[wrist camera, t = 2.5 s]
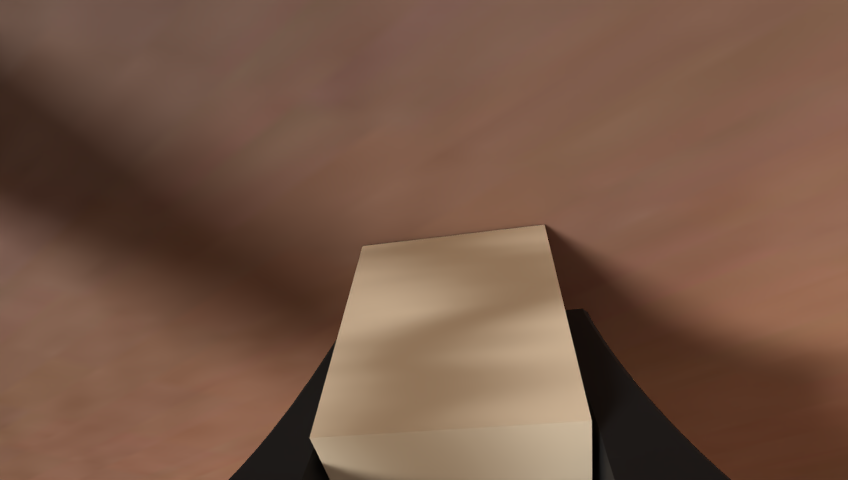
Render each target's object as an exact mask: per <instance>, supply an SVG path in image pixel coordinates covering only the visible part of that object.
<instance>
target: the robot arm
mask: <svg viewBox="0 0 848 480" xmlns="http://www.w3.org/2000/svg"><path fill="white" fill-rule="evenodd" d="M565 312H566V316H567V320H568V324H569V328H570V332H571V337H572V341H573V345H574V349H575V353H576V357H577V361H578V366H579V370H580V374H581V378H582V382H583V386H584V390H585V395H586V399H587V403H588V407H589V411H590V415H591V419H592V480H731V479H730V478H728V477H727V476H726V475H725V474H724V473H723V472H721V471H720V470H719V469H718V468H717V467H716V466H715V465H714V464H713V463H712V462H711V461H709V460H708V459H707V458H706V457H705V456H704V455H703V454H702V453H701V452H700V451H699V450H698V449H697V448H696V447H695V446H694V445H693V444H692V443H691V442H690V441H689V440H688V439H687V438H686V437H685V436H684V435H683V434H682V433H681V432H680V431H679V430H678V429H677V428H676V427H675V426H674V425H673V424H672V423H671V422H670V421H669V420H668V419H667V418H666V417H665V416H664V415H663V413H662V412H661V411H660V410H659V409H658V408H657V407H656V406H655V404H654V403H653V402H652V401H651V400H650V399H649V398H648V396H647V395H646V394H645V393H644V392H643V391H642V389H641V388H640V387H639V386H638V385H637V383H636V382H635V381H634V380H633V378H632V377H631V376H630V374H629V373H628V372H627V371H626V369H625V368H624V367H623V365H622V364H621V363H620V362H619V360H618V359H617V358H616V356H615V355H614V353H613V352H612V351H611V349H610V348H609V346H608V345H607V343H606V342H605V341H604V339H603V338H602V336H601V335H600V333H599V331H598V330H597V328H596V327H595V325H594V323H593V322H592V320H591V318H590V316H589V314H588V312H586V311H585V310H584V309H574V310H565ZM335 344H336V341H335V343H334V344H333V346H332V347H331V349H330V350H329V352H328V353H327V355H326V356H325V358H324V359H323V361H322V362H321V364H320V365H319V367H318V368H317V370H316V371H315V373H314V374H313V376H312V377H311V379H310V380H309V382H308V383H307V384H306V386H305V387H304V389H303V390H302V392H301V393H300V394H299V396H298V397H297V399H296V400H295V401H294V403H293V404H292V405H291V407H290V408H289V409H288V411H287V412H286V413H285V415H284V416H283V417H282V418H281V420H280V421H279V422H278V424H277V425H276V426H275V427H274V429H273V430H272V431H271V433H270V434H269V435H268V436H267V437H266V439H265V440H264V441H263V442H262V443H261V445H260V446H259V447H258V448H257V449H256V450H255V452H254V453H253V454H252V455H251V456H250V457H249V458H248V459H247V461H246V462H245V463H244V464H243V465H242V466H241V467H240V468H239V469H238V470H237V472H236V473H235V474H234V475H233V476H232V477H231V478H230V479H229V480H330V479H329V477H328V474H327V472H326V470H325V468H324V466H323V464H322V462H321V460H320V458H319V456H318V454H317V452H316V450H315V448H314V446H313V444H312V442H311V440H310V434H311V431H312V427H313V423H314V420H315V416H316V413H317V409H318V405H319V402H320V398H321V395H322V391H323V387H324V384H325V380H326V376H327V373H328V369H329V366H330V362H331V358H332V355H333V351H334V348H335Z"/></svg>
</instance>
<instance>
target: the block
mask: <svg viewBox="0 0 848 480" xmlns="http://www.w3.org/2000/svg"><path fill="white" fill-rule="evenodd" d="M310 440H311V442H312V444H313V446H314V448H315V450H316V452H317V454H318V456H319V458H320V460H321V462H322V464H323V466H324V468H325V470H326V472H327V474H328V477H329V479H330V480H592V419H591V415H590V411H589V407H588V403H587V399H586V395H585V390H584V386H583V382H582V378H581V374H580V370H579V366H578V361H577V357H576V353H575V349H574V345H573V341H572V337H571V332H570V328H569V324H568V320H567V316H566V312H565V308H564V303H563V299H562V295H561V291H560V287H559V283H558V279H557V274H556V270H555V266H554V262H553V258H552V254H551V250H550V245H549V241H548V237H547V233H546V229H545V225H537V226H529V227H520V228H512V229H504V230H495V231H487V232H478V233H470V234H461V235H453V236H444V237H436V238H427V239H419V240H410V241H402V242H393V243H385V244H376V245H368V246H362V250H361V254H360V257H359V261H358V264H357V268H356V272H355V275H354V279H353V283H352V286H351V290H350V293H349V297H348V301H347V304H346V308H345V311H344V315H343V319H342V322H341V326H340V330H339V333H338V337H337V340H336V344H335V348H334V351H333V355H332V358H331V362H330V366H329V369H328V373H327V376H326V380H325V384H324V387H323V391H322V395H321V398H320V402H319V405H318V409H317V413H316V416H315V420H314V423H313V427H312V431H311V434H310Z"/></svg>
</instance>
